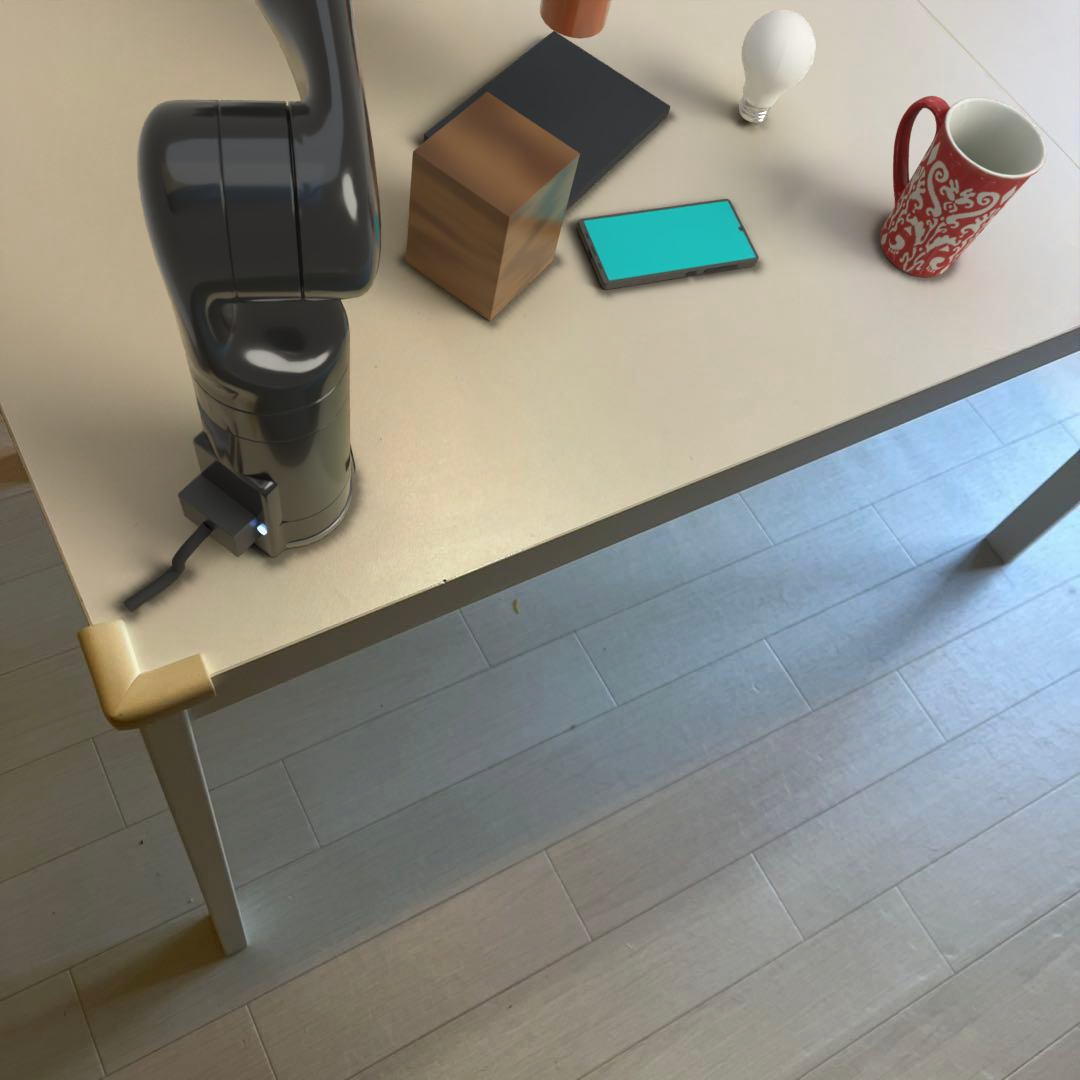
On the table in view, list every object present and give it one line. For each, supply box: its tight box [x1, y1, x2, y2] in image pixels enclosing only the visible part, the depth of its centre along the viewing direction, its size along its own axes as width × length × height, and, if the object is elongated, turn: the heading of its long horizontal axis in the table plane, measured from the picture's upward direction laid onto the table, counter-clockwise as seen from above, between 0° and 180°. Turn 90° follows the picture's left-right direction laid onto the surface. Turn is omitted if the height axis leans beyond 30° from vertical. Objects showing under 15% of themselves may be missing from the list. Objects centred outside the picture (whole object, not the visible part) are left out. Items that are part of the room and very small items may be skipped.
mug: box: [879, 95, 1047, 278], centre depth 91 cm, size 13×9×14 cm
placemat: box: [422, 30, 671, 213], centre depth 94 cm, size 20×14×1 cm
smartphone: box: [576, 198, 759, 290], centre depth 90 cm, size 7×1×15 cm
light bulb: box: [738, 9, 817, 124], centre depth 95 cm, size 7×7×11 cm
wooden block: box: [405, 92, 580, 322], centre depth 81 cm, size 9×9×12 cm
